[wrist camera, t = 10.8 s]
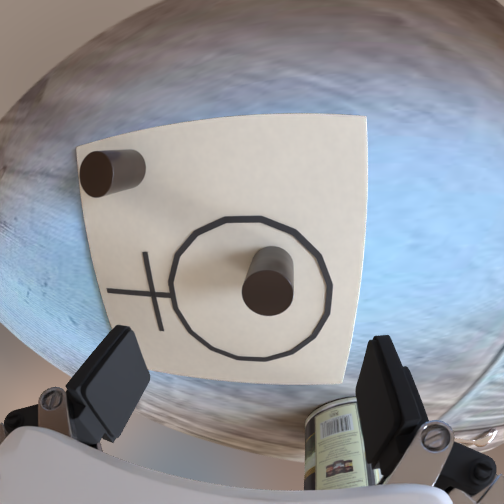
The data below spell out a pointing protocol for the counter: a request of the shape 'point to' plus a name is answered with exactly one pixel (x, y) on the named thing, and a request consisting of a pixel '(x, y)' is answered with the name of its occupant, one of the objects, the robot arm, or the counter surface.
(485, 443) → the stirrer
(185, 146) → the board
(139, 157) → the dot
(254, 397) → the counter surface
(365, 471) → the coffee can
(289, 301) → the dot
